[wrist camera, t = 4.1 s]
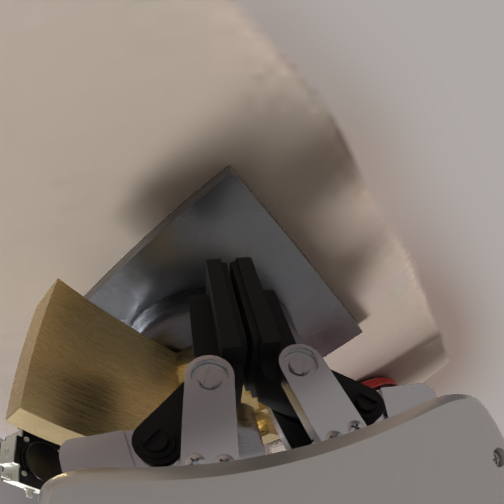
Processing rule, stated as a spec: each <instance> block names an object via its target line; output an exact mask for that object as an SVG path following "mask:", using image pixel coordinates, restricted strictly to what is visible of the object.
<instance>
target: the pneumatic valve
mask: <svg viewBox="0 0 504 504" xmlns="http://www.w3.org/2000/svg"><path fill="white" fill-rule="evenodd" d="M17 428H18V427H17ZM18 429H19V430H20V431H18V432H16V433H14V434H12V435H10V436H8V437H6V438H5V441H4V442H1V443H0V465H1V466H3V471H2V472H1V477H2V480H3V481H4V482H7V483H9V484H12V485H14V486H17V487H19V488H22V489H24V490H25V493H26V494H25V496H26V497H29V498H33V495H32V494H33V493H38V494H39V493H40V490H41V488H42V486H43V485H44V484H45V482H47V481H48V480H50V479H51V478H53V477H55V476H57V475H60V474H63V473H62V469H61V464H60V459H59V450H60V447H61V446H60V445H58V444H55V443H53V442H50V441H48V440H45V439H43V438H40V437H38V436H36V435H33V434H31V433H29V432H27V431H25V430H22V429H20V428H18Z"/></svg>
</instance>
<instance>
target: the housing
mask: <svg viewBox="0 0 504 504" xmlns="http://www.w3.org/2000/svg"><path fill="white" fill-rule="evenodd" d="M240 257H251V259H252V261H253V264H254V267H255V269H256V272H257V275H258V277H259V280H260V283H261V286H262V288H263V290H272V289H273V290H274V291H275V293H276V296H277V298H278V300H279V303H280V305H281V308H282V310H283V313H284V315H285V317H286V320H287V322H288V325H289V327H290V330H291V332H292V335H293V337H294V339H295V342H296V344H305V345H308V346H311V347H312V348H314V349H315V350H317V351H318V352H319V354H320V355H321V356H322V358H323V357H324V356H326V355H328V354H329V353H331V352H333V351H334V350H336V349H337V348H339V347H340V346H342V345H344V344H345V343H347V342H348V341H350V340H351V339H353V338H354V337H356V336H357V335H359V334H360V333H362V330H361V329H360V327H359V325H358V324H357V322H356V321H355V320H354V318H353V317H352V316H351V314H350V313H349V312H348V310H347V309H346V308H345V306H344V305H343V304H342V303H341V301H340V300H339V299H338V297H337V296H336V295H335V293H334V292H333V291H332V290H331V288H330V287H329V286H328V284H327V283H326V282H325V281H324V279H323V278H322V277H321V276H320V274H319V273H318V272H317V271H316V269H315V268H314V267H313V265H312V264H311V263H310V262H309V260H308V259H307V258H306V257H305V255H304V254H303V253H302V252H301V250H300V249H299V248H298V247H297V246H296V244H295V243H294V242H293V241H292V239H291V238H290V237H289V236H288V234H287V233H286V232H285V231H284V230H283V228H282V227H281V226H280V225H279V223H278V222H277V221H276V220H275V219H274V217H273V216H272V215H271V214H270V213H269V211H268V210H267V209H266V208H265V207H264V205H263V204H262V203H261V202H260V201H259V199H258V198H257V197H256V196H255V195H254V194H253V192H252V191H251V190H250V189H249V188H248V187H247V185H246V184H245V183H244V182H243V181H242V179H241V178H240V177H239V176H238V175H237V174H236V173H235V171H234V170H233V169H232V168H231V167H230V166H228V167H226V168H225V169H224V170H223V171H221V172H220V173H219V174H218V175H216V176H215V177H214V178H213V179H211V180H210V181H209V182H208V183H207V184H205V185H204V186H203V187H202V188H200V189H199V190H198V191H197V192H196V193H195V194H193V195H192V196H191V197H190V198H189V199H187V200H186V201H185V202H184V203H183V204H182V205H180V206H179V207H178V208H177V209H176V210H175V211H173V212H172V213H171V214H170V215H169V216H168V217H167V218H166V219H164V220H163V221H162V222H161V223H160V224H159V225H158V226H157V227H155V228H154V229H153V230H152V231H151V232H150V233H149V234H148V235H147V236H146V237H144V238H143V239H142V240H141V241H140V242H139V243H138V244H137V245H136V246H135V247H134V248H133V249H132V250H131V251H130V252H128V253H127V254H126V255H125V256H124V257H123V258H122V259H121V260H120V261H119V262H118V263H117V264H116V265H115V266H114V267H113V268H112V269H111V270H110V271H109V272H108V273H107V274H106V275H105V276H104V277H103V278H102V279H101V280H100V281H99V282H98V283H97V284H96V285H95V286H94V287H93V288H92V289H91V290H90V291H89V292H88V293H87V294H86V295H85V296H84V297H85V298H86V299H88V300H89V301H91V302H92V303H94V304H95V305H97V306H98V307H100V308H101V309H103V310H104V311H106V312H107V313H109V314H110V315H112V316H114V317H115V318H117V319H118V320H120V321H121V322H123V323H125V324H126V325H128V326H130V327H131V328H133V329H135V330H136V331H138V332H140V333H141V334H143V335H145V336H147V337H148V338H150V339H152V340H154V341H155V342H157V343H159V344H161V345H162V346H164V347H166V348H168V349H170V350H172V351H173V352H175V353H178V352H181V351H184V350H187V349H191V348H193V343H192V334H191V324H190V313H189V301H188V296H196V295H206V267H205V263H206V259H221V262H226V263H227V266H228V270H229V272H230V262H235V258H240Z"/></svg>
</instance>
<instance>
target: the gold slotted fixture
mask: <svg viewBox="0 0 504 504" xmlns="http://www.w3.org/2000/svg"><path fill="white" fill-rule="evenodd" d="M193 360H194V351H193V348H191V349H187V350H184V351H181V352H178V353H175V352H173V351H172V350H170V349H168V348H166V347H164V346H162V345H161V344H159V343H157V342H155V341H154V340H152V339H150V338H148V337H147V336H145V335H143V334H141V333H140V332H138V331H136V330H135V329H133V328H131V327H130V326H128V325H126V324H125V323H123V322H121V321H120V320H118V319H117V318H115V317H114V316H112V315H110V314H109V313H107V312H106V311H104V310H103V309H101V308H100V307H98V306H97V305H95V304H94V303H92V302H91V301H89V300H88V299H86V298H85V297H83V296H82V295H80V294H79V293H78V292H76V291H75V290H73V289H72V288H71V287H69V286H68V285H66V284H65V283H64V282H62V281H61V280H60V279H57V280H56V282H55V283H54V284H53V285H52V287H51V288H50V289H49V291H48V292H47V293H46V295H45V296H44V297H43V299H42V300H41V301H40V303H39V304H38V305H37V308H36V310H35V313H34V316H33V319H32V321H31V324H30V327H29V330H28V333H27V336H26V339H25V342H24V346H23V349H22V352H21V356H20V359H19V363H18V366H17V370H16V374H15V378H14V382H13V386H12V391H11V395H10V400H9V405H8V411H7V416H6V422H8V423H10V424H12V425H14V426H16V427H18V428H20V429H22V430H25V431H27V432H29V433H31V434H33V435H36V436H38V437H40V438H43V439H45V440H48V441H50V442H53V443H55V444H58V445H60V446H61V445H62V444H63V443H64V442H65V441H66V440H69V439H72V438H79V437H85V436H92V435H98V434H103V433H109V432H114V431H119V430H123V431H124V432H125V431H129V430H134V429H136V428H137V427H138V426H139V425H140V424H141V423H142V422H143V421H144V420H145V419H146V418H147V417H148V416H149V415H150V414H151V413H152V412H153V411H154V410H155V409H156V408H157V407H158V406H159V405H160V404H161V403H162V402H163V401H165V400H166V399H167V398H168V397H169V396H170V395H171V394H172V393H173V392H174V391H175V390H176V389H177V388H178V387H179V386H180V385H181V384H182V383H183V382H184V381H185V372H186V368H187V366H188V365H189V364H190V362H191V361H193ZM236 416H237V434H238V450H239V460H240V459H246V458H252V457H258V456H263V455H265V454H266V451H265V448H264V445H265V444H267V443H270V442H272V441H275V440H277V439H280V437H279V435H278V433H277V431H276V428H275V426H274V424H273V422H272V420H271V418H270V416H269V414H268V412H267V410H266V406H265V405H263V404H262V403H260V402H258V398H257V397H255V398H252V395H251V392H250V391H245V388H244V385H243V391H242V398H241V404H240V406H239V407H238V408H237V409H236Z"/></svg>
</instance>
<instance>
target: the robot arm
mask: <svg viewBox="0 0 504 504" xmlns="http://www.w3.org/2000/svg"><path fill="white" fill-rule="evenodd" d="M205 267H206V295H196V296H188V301H189V313H190V324H191V334H192V343H193V351H194V360H193V361H191V362H190V364H189V365H188V366H187V368H186V372H185V381H184V382H183V383H182V384H181V385H180V386H179V387H178V388H177V389H176V390H175V391H174V392H173V393H172V394H171V395H170V396H169V397H168V398H167V399H166V400H165V401H163V402H162V403H161V404H160V405H159V406H158V407H157V408H156V409H155V410H154V411H153V412H152V413H151V414H150V415H149V416H148V417H147V418H146V419H145V420H144V421H143V422H142V423H141V424H140V425H139V426H138V427H137V428H136V429H134V430H129V431H125V432H124V431H123V430H119V431H114V432H109V433H103V434H98V435H92V436H85V437H79V438H72V439H69V440H66V441H65V442H64V443H63V444H62V445H61V447H60V450H59V459H60V464H61V469H62V473H63V474H60V475H57V476H55V477H53V478H51V479H50V480H48V481H47V482H45V484H44V485H43V486H42V488H41V490H40V493H39V496H38V502H37V504H504V438H503V436H502V434H501V432H500V430H499V428H498V426H497V425H496V423H495V421H494V420H493V418H492V416H491V415H490V413H489V412H488V410H487V409H486V408H485V406H484V405H483V404H482V403H481V402H480V401H479V400H478V399H476V398H475V397H472V396H470V395H463V394H452V395H445V396H440V397H436V394H435V392H434V390H433V389H432V388H431V387H430V386H429V385H427V384H424V383H417V384H410V385H402V386H393V387H383V388H380V390H374V389H373V388H371V387H369V386H366V385H364V384H362V383H359V382H357V381H355V380H353V379H350V378H348V377H346V376H344V375H342V374H339V373H337V372H335V371H333V370H331V369H330V368H329V367H328V365H327V364H326V362H325V361H324V359H323V358H322V356H321V355H320V354H319V352H318V351H317V350H315V349H314V348H312V347H311V346H308V345H305V344H296V342H295V339H294V337H293V335H292V332H291V330H290V327H289V325H288V322H287V320H286V317H285V315H284V313H283V310H282V308H281V305H280V303H279V300H278V298H277V296H276V293H275V291H274V290H273V289H272V290H263V288H262V286H261V283H260V280H259V277H258V275H257V272H256V269H255V267H254V264H253V261H252V259H251V257H240V258H235V262H230V272H229V270H228V266H227V263H226V262H221V259H206V263H205ZM243 385H244V388H245V391H250V392H251V395H252V398H255V397H257V398H258V402H260V403H262V404H263V405H265V406H266V410H267V412H268V414H269V416H270V418H271V420H272V422H273V424H274V426H275V428H276V431H277V433H278V435H279V437H280V439H281V440H282V442H283V444H284V446H285V448H286V450H287V451H282V452H278V453H273V454H268V455H263V456H258V457H252V458H246V459H240V460H239V450H238V434H237V416H236V409H237V408H238V407H239V406H240V404H241V398H242V391H243Z"/></svg>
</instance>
